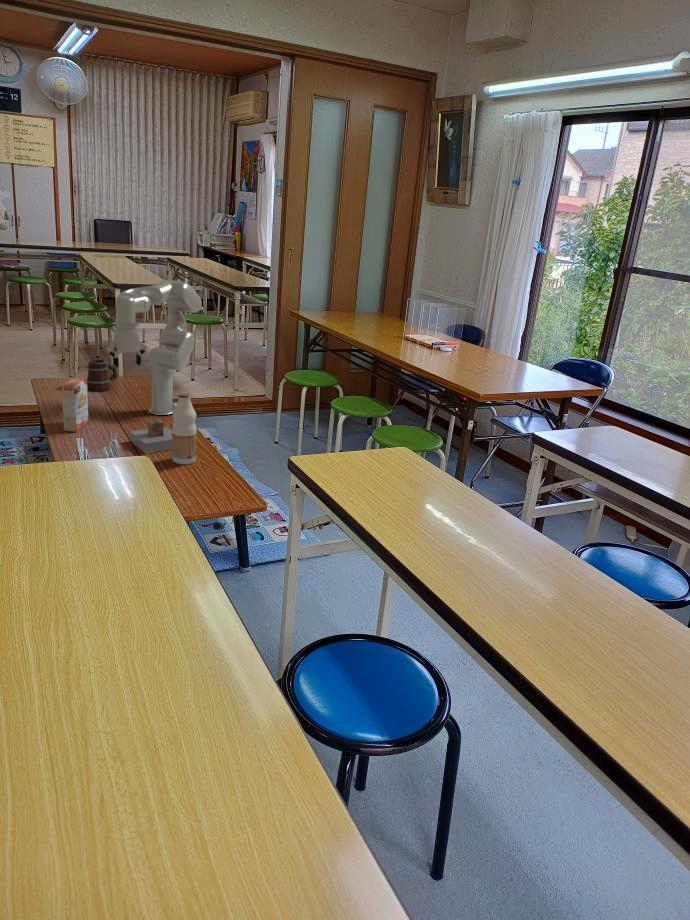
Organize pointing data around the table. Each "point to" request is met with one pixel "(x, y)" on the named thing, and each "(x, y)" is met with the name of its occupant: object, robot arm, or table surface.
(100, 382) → the mug
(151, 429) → the walnut block
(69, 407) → the cracker box
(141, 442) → the grey box
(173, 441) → the fruit juice
